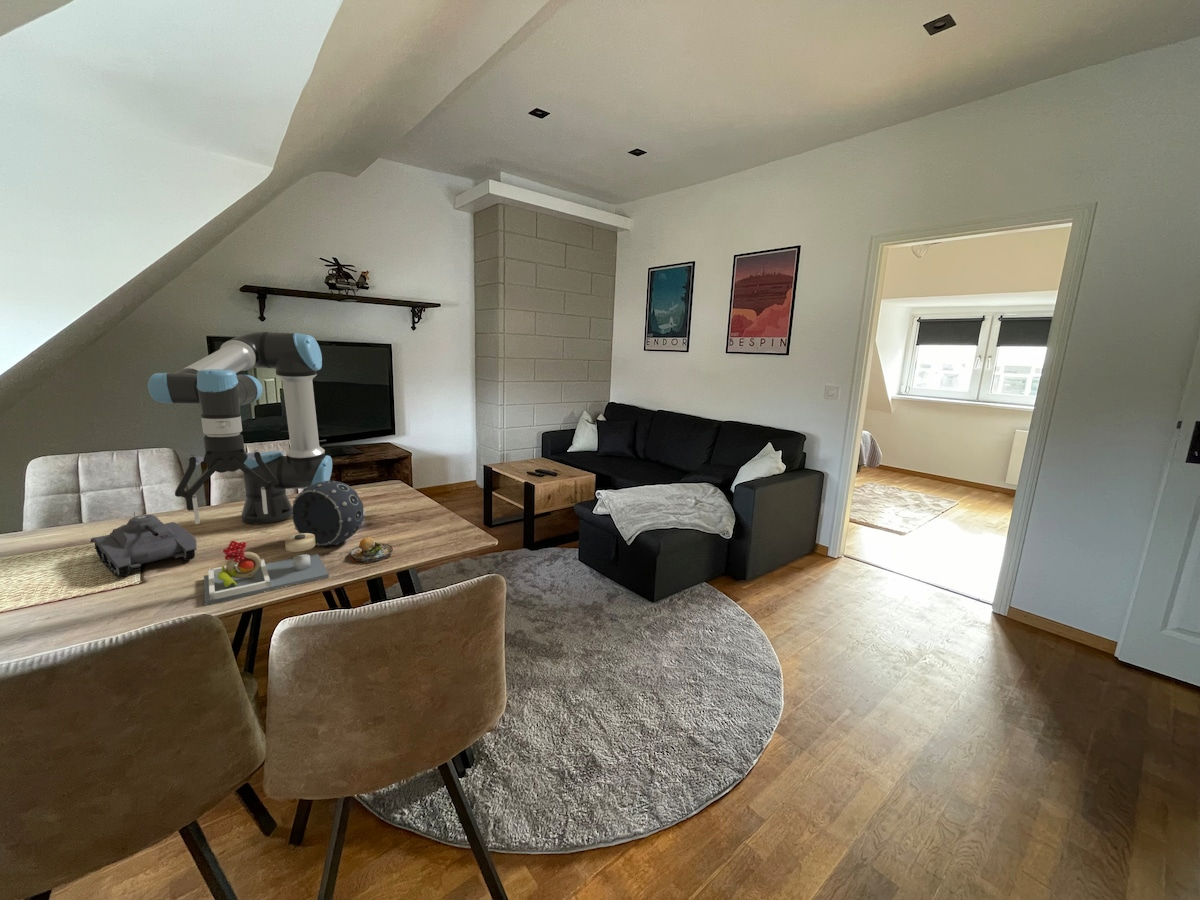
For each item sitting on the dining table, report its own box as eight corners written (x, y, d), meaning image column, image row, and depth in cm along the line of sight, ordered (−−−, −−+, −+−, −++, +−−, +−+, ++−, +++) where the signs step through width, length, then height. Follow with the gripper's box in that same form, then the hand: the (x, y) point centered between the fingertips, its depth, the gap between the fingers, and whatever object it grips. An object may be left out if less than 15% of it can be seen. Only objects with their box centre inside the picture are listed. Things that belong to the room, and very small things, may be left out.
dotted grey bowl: (346, 553, 145) (342, 490, 141) (289, 545, 148) (284, 483, 144) (369, 540, 155) (366, 481, 151) (316, 533, 159) (311, 474, 155)
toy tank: (115, 585, 121) (105, 529, 118) (92, 557, 135) (83, 506, 132) (202, 562, 135) (196, 511, 132) (173, 539, 149) (167, 493, 146)
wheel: (283, 545, 132) (282, 534, 131) (313, 539, 136) (312, 529, 135) (287, 553, 126) (286, 542, 126) (317, 548, 131) (316, 537, 130)
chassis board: (204, 579, 125) (202, 565, 125) (317, 556, 142) (316, 543, 141) (205, 605, 113) (203, 589, 113) (328, 577, 130) (327, 563, 129)
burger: (398, 557, 145) (397, 534, 143) (356, 568, 137) (355, 543, 135) (384, 544, 153) (383, 522, 152) (344, 554, 145) (342, 530, 143)
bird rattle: (247, 581, 128) (206, 578, 121) (263, 540, 129) (224, 536, 122) (255, 589, 124) (213, 587, 117) (271, 547, 125) (231, 543, 118)
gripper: (152, 440, 105) (165, 531, 110) (286, 433, 121) (293, 512, 125) (154, 435, 111) (166, 521, 115) (282, 428, 127) (289, 504, 131)
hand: (232, 517), depth 120 cm, fingers open, 13 cm apart
